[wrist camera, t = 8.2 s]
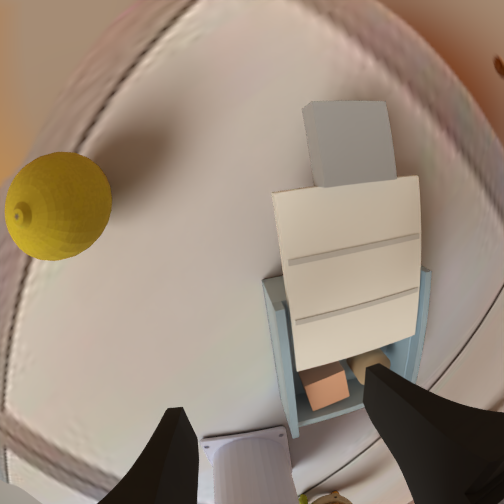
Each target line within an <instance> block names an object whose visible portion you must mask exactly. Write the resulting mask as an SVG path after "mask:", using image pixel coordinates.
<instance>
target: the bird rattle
mask: <svg viewBox="0 0 504 504" xmlns="http://www.w3.org/2000/svg"><path fill="white" fill-rule="evenodd" d="M298 500H299V503H300V504H308V500H307V496H306V495H303V494H301V496H300V498H299V499H298ZM311 504H352V503H351V502H350V501H349V500H348V499H347V498H345V497H343V496H341V495H339V493H338V492H337V491H334V492H332V493H331V494H330V495H325V496H322V497H320V498H318V499H316V500H315V501H314V502H312V503H311Z"/></svg>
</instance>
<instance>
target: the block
mask: <svg viewBox="0 0 504 504" xmlns="http://www.w3.org/2000/svg"><path fill="white" fill-rule="evenodd" d="M298 374H299V376H300V379H301V382H302V385H303V388H304V390H305V393H306V395H307V398H308V400H309V403H310V405H311V408H312V410H313V411H315V410H318V409H321V408H323V407H326V406H328V405H330V404H333V403H335V402H338V401H340V400H342V399H345V398H347V397H349V396H350V395H349V390H348V385H347V380H346V376H345V371H344V369H343V367H342V366H341V364H340V362H339V361H335V362H332V363H328V364H325V365H321V366H317V367H313V368H310V369H306V370H302V371H298Z"/></svg>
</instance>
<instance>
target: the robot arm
mask: <svg viewBox="0 0 504 504" xmlns="http://www.w3.org/2000/svg"><path fill="white" fill-rule="evenodd" d="M363 404H364V406H365V408H366V411H367V413H368V415H369V417H370V419H371V421H372V423H373V425H374V426H375V428H376V429H377V431H378V433H379V434H380V436H381V437H382V439H383V440H384V442H385V444H386V445H387V447H388V448H389V450H390V451H391V453H392V454H393V456H394V458H395V459H396V461H397V463H398V465H399V467H400V469H401V471H402V473H403V476H404V478H405V480H406V482H407V485H408V487H409V490H410V492H411V495H412V497H413V500H414V503H415V504H504V412H494V411H488V410H482V409H478V408H473V407H469V406H466V405H462V404H459V403H456V402H453V401H450V400H448V399H445V398H443V397H440V396H438V395H436V394H434V393H432V392H429V391H427V390H425V389H423V388H421V387H420V386H418V385H416V384H414V383H412V382H410V381H409V380H407V379H405V378H404V377H402V376H400V375H398V374H397V373H395V372H393V371H392V370H390V369H389V368H387V367H385V366H384V365H382V364H380V363H377V364H374V365H372V366H369V367H366V371H365V382H364V393H363ZM200 445H201V447H202V449H203V451H204V453H205V455H206V456H207V458H208V460H209V462H210V464H211V466H212V467H213V479H214V499H215V504H300V503H299V500H298V496H297V492H296V489H295V485H294V481H293V478H292V474H291V473H292V466H291V459H290V453H289V446H288V439H287V433H286V428H285V427H283V426H280V427H275V428H270V429H265V430H260V431H254V432H249V433H243V434H236V435H229V436H222V437H214V438H205V439H201V440H200ZM198 470H199V452H198V439H197V436H196V434H195V432H194V430H193V428H192V426H191V424H190V422H189V420H188V417H187V415H186V413H185V411H184V409H183V407H176V408H168V409H167V410H166V411H165V413H164V415H163V417H162V419H161V421H160V423H159V424H158V426H157V428H156V430H155V432H154V433H153V435H152V437H151V438H150V440H149V442H148V443H147V445H146V447H145V448H144V450H143V451H142V453H141V454H140V456H139V457H138V459H137V460H136V462H135V463H134V465H133V466H132V467H131V469H130V470H129V471H128V472H127V474H126V475H125V476H124V477H123V478H122V480H121V481H120V482H119V483H118V484H117V485H116V486H115V487H114V488H113V489H112V490H111V491H110V492H109V493H108V494H107V495H106V496H105V497H104V498H103V499H102V500H101V501H100V502H98V503H97V504H197V490H198Z"/></svg>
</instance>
